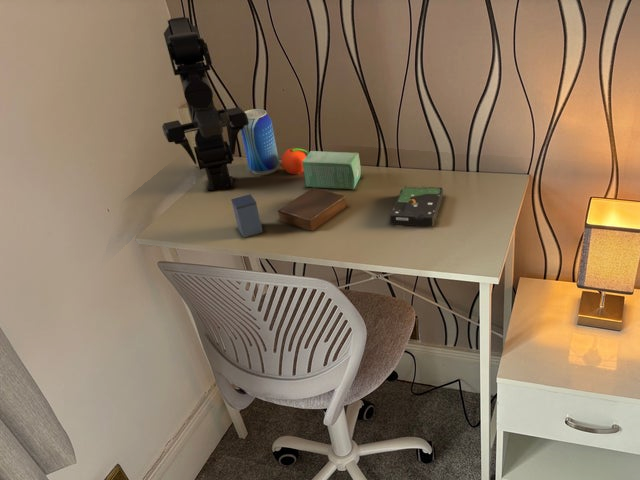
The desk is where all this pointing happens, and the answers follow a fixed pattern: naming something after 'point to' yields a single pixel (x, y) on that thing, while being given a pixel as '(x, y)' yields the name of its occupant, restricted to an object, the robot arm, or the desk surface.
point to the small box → (247, 215)
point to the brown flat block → (312, 208)
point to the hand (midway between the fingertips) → (214, 158)
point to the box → (331, 169)
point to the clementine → (293, 160)
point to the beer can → (260, 143)
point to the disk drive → (417, 206)
